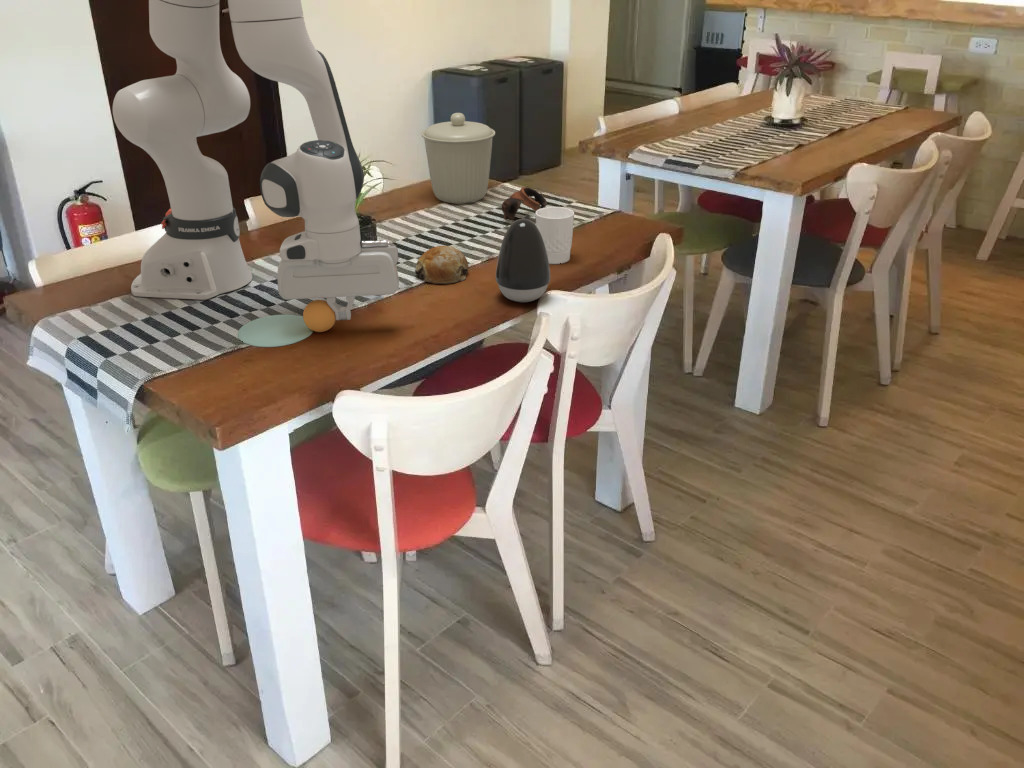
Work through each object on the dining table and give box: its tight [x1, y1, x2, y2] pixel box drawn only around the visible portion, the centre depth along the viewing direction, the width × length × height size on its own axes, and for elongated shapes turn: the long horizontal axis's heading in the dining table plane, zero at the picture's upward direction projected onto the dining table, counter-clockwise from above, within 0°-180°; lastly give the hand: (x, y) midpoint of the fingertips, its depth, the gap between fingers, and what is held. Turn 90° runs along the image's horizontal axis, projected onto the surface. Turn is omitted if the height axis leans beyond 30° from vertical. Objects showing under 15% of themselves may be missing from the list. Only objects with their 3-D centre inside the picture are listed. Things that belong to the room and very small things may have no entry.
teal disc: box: [237, 314, 314, 348], centre depth 153 cm, size 13×13×1 cm
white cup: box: [535, 206, 575, 265], centre depth 182 cm, size 8×8×10 cm
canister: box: [420, 112, 496, 205], centre depth 217 cm, size 18×18×21 cm
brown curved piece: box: [501, 186, 548, 222], centre depth 206 cm, size 12×10×8 cm
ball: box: [302, 299, 337, 333], centre depth 152 cm, size 6×6×6 cm
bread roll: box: [414, 245, 469, 285], centre depth 175 cm, size 10×10×8 cm
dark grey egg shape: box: [495, 214, 551, 303], centre depth 162 cm, size 10×10×15 cm
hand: (343, 318), depth 152 cm, fingers closed
